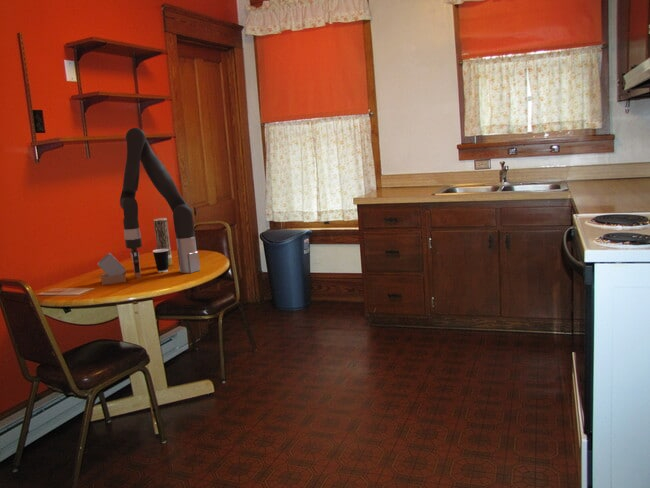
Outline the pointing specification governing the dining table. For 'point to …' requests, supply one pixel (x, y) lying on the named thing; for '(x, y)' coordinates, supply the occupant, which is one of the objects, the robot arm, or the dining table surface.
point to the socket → (111, 270)
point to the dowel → (137, 275)
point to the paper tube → (162, 236)
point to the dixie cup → (161, 259)
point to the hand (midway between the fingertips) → (137, 271)
